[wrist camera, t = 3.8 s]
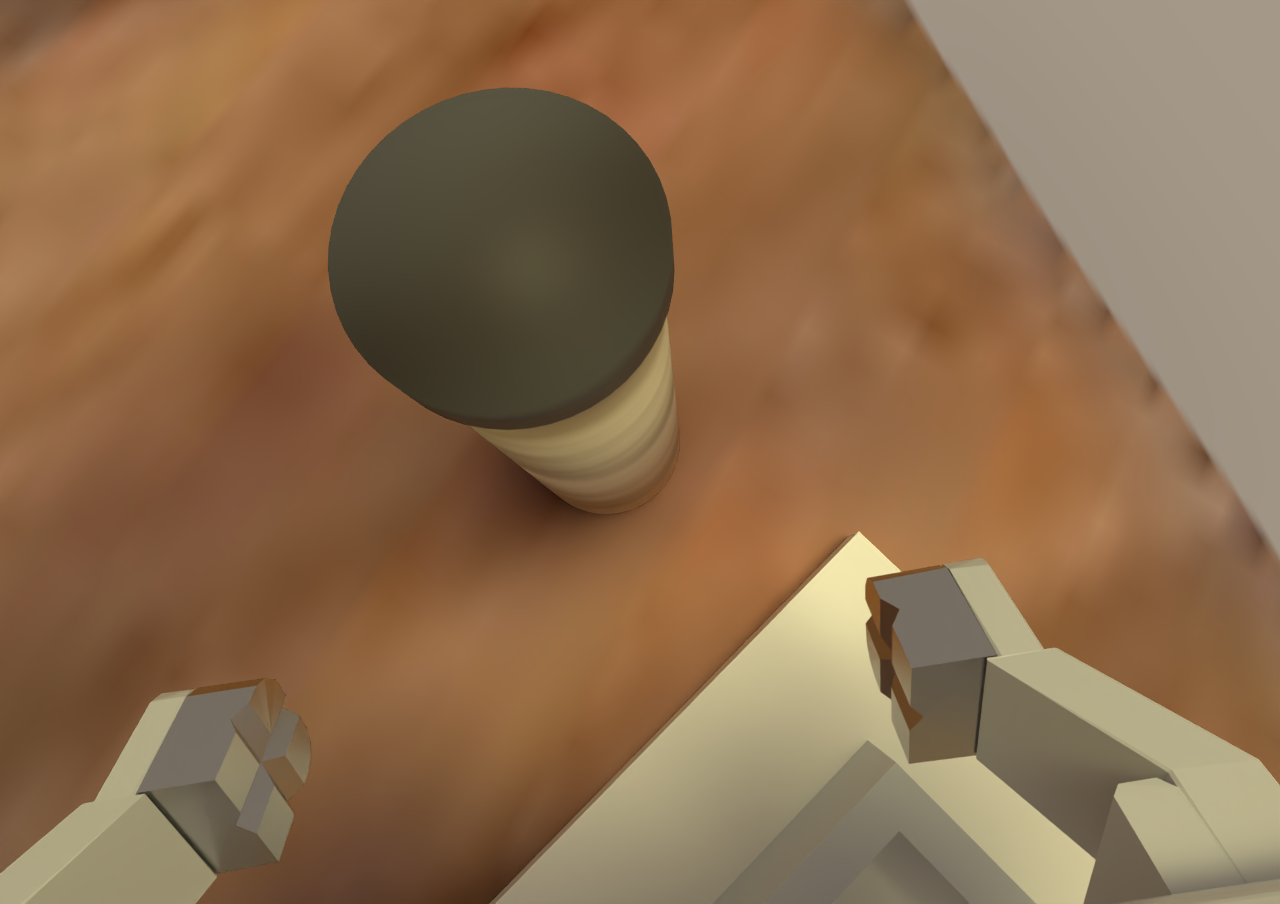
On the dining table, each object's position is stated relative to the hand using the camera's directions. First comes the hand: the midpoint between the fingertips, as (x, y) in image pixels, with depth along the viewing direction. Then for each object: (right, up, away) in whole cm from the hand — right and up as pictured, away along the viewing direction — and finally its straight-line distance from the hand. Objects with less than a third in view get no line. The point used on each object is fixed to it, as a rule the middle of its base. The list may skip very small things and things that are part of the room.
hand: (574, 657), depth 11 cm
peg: (0, +3, +13) cm, 14 cm away
